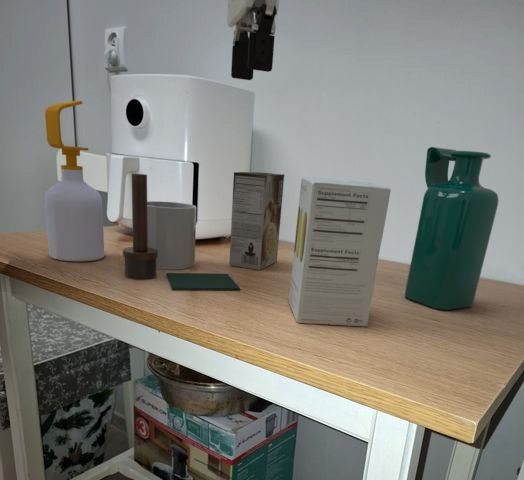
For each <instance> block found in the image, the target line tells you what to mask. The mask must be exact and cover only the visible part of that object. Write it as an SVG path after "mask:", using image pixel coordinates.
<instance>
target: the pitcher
mask: <svg viewBox="0 0 524 480" xmlns="http://www.w3.org/2000/svg"><path fill="white" fill-rule="evenodd" d="M491 157H492V155H491V154H490V153H488V152H483V151H474V150H473V151H472V150H456V149H452V148H445V147H435V146H430V147H429V148H427V151H426V160H425V169H424V170H425V171H424V179H425V185H426V187H427V189H426V190H425V191H424V194H423V196H422V202H421V206H420V207H421V208H420V212H419V218H418V222H417V228H416V233H415V237H414V243H413V247H412V248H413V249H412V253H411V259H410V264H409V269H408V274H407V279H406V284H405V289H404V297H405V298H406V299H408V300H409V301H413V302H415V303H418V304H420V305H423V306H426V307H429V308H432V309H435V310H439V311H452V310H458V309H464V308H465V309H466V308H470V307H472V306H473V305H474V303H475V298H476V295H477V291H478V286H479V283H480V278H481V275H482V270H483V266H484V262H485V258H486V255H487V250H488V246H489V243H490V238H491V234H492V230H493V226H494V222H495V219H496V215H497V211H498V206H499V195H498V193H497V192H496V191H494V190H493V189H490V188H486V187H484V186H482V185H481V183H480V175H481V170H482V167H483V162H484V160H489V159H491ZM450 162H454V164H453V169H452V174H451V176H450V178H449V166H450Z"/></svg>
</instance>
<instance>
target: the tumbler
mask: <svg viewBox="0 0 524 480" xmlns="http://www.w3.org/2000/svg"><path fill="white" fill-rule="evenodd" d="M147 223H148V248H153V249H156V250H157V251H158V257H157V258H156V270H168V271H169V270H170V271H171V270H172V271H175V270H177V271H178V270H185V269H186V270H187V269H190V268H194V266H195V261H196V236H197V235H196V234H197V233H196V232H197V231H196V230H197V229H196V228H197V205H194V204H190V203H184V202H176V201H163V200H162V201H160V200H156V201H155V200H152V201H151V200H149V201H148V200H147Z"/></svg>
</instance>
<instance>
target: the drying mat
mask: <svg viewBox="0 0 524 480" xmlns="http://www.w3.org/2000/svg"><path fill="white" fill-rule="evenodd" d="M166 277H167V280H168V283H169V285H170V288H171V291H241V287H240V286H239V285H238V284H237V283H236V282H235V280H234V279H233V278H232V276H230V275H229V273H220V272H219V273H216V272H215V273H213V272H212V273H211V272H210V273H209V272H208V273H207V272H166Z"/></svg>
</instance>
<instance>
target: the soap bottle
mask: <svg viewBox="0 0 524 480" xmlns="http://www.w3.org/2000/svg"><path fill="white" fill-rule="evenodd" d="M82 104H84V103H83V100H68V101H64V102H60V103H55V104H51V105H49V106H47V107H46V109H45V112H44V118H45V119H44V120H45V131H46V141H47V144H48V145H49V147H51V148H54V149H61V155H62V156H65V164H61V165H60V172H61V173H60V175H61V179H60V180H59V181H58V182H57V183H55V184H53V185H52V186H50V187H49V188H48V190H46V191H45V195H44V197H43V201H44V202H43V203H44V211H45V225H46V235H47V247H48V255H49V257H50V258H52V259H54V260H57V261H62V262H72V263H85V262H94V261H98V260H101V259H102V258H104V257H105V235H104V211H103V199H102V196H101V193H100V192H98V190H96V189H95V188H94V187H92V186H91V185H89V184H88V183H87V182H86V181H85V180H84V169H83V166H81V165H78V157H81V151H87V152H88V151H89V147H81V146H68V145H64V143H63V140H62V131H61V113H62V111H63V110H65V109H67V108H71V107H75V106H80V105H82Z"/></svg>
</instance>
